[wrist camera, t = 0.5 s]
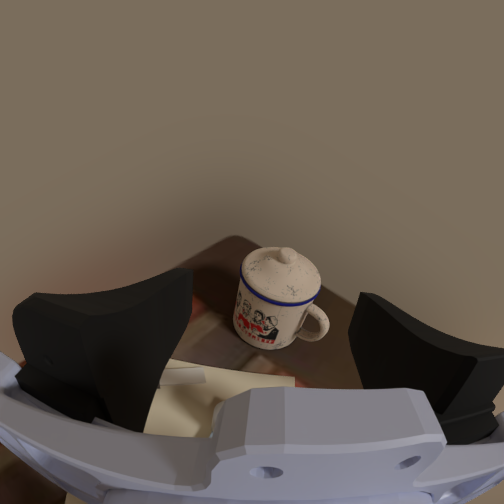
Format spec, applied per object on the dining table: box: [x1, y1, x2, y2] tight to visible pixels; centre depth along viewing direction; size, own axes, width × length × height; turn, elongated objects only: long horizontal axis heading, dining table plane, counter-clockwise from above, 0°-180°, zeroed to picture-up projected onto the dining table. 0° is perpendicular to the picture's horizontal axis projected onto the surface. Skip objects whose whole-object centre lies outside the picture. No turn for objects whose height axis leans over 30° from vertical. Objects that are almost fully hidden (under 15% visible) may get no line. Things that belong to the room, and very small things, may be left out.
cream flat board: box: [65, 359, 295, 504], centre depth 18 cm, size 23×20×2 cm
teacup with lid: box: [233, 247, 329, 350], centre depth 31 cm, size 12×9×12 cm
